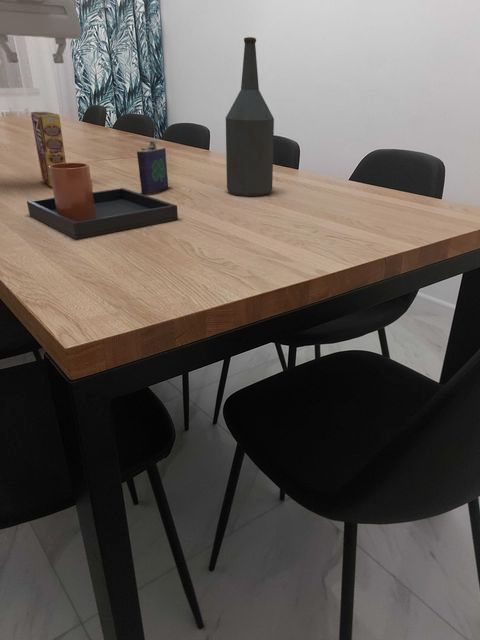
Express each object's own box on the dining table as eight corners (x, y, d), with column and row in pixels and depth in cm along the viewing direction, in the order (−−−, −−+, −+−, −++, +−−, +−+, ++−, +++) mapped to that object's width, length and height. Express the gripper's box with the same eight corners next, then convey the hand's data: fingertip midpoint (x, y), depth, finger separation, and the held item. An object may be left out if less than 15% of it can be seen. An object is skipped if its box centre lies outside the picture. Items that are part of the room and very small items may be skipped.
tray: (76, 239, 80) (73, 223, 79) (29, 215, 93) (26, 201, 92) (178, 219, 92) (177, 205, 91) (124, 200, 105) (123, 187, 103)
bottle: (264, 186, 120) (267, 39, 105) (277, 195, 111) (282, 36, 97) (222, 188, 117) (219, 37, 102) (232, 197, 109) (230, 34, 94)
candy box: (71, 186, 116) (59, 113, 109) (52, 188, 114) (39, 114, 107) (60, 180, 123) (48, 111, 115) (42, 181, 120) (28, 111, 113)
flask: (161, 186, 118) (157, 137, 112) (172, 188, 117) (169, 138, 111) (138, 194, 110) (133, 142, 105) (149, 195, 109) (145, 143, 104)
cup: (68, 225, 85) (58, 170, 81) (52, 218, 89) (42, 164, 85) (102, 219, 89) (95, 166, 85) (86, 212, 93) (78, 161, 89)
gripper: (67, -12, 105) (78, 63, 112) (-40, -24, 93) (-20, 62, 100) (80, -15, 101) (90, 63, 108) (-30, -28, 89) (-10, 62, 96)
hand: (36, 63), depth 104 cm, fingers open, 8 cm apart
